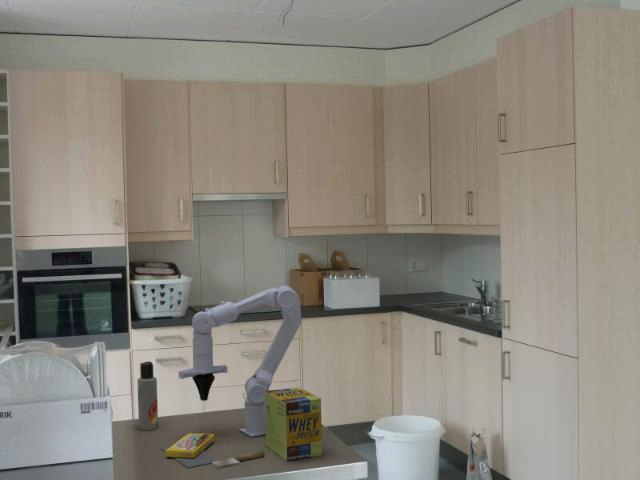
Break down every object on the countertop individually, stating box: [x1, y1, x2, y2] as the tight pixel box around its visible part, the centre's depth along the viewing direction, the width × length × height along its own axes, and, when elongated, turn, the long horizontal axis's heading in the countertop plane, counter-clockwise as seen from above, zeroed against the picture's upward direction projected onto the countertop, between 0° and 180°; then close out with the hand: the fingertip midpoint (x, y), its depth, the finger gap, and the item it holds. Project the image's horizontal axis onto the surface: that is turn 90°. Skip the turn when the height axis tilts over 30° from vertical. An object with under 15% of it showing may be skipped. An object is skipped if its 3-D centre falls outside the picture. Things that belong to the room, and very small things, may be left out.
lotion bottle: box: [137, 361, 159, 431], centre depth 239 cm, size 6×6×20 cm
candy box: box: [164, 432, 216, 458], centre depth 217 cm, size 16×2×8 cm
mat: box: [159, 444, 220, 469], centre depth 213 cm, size 9×20×1 cm, turn 32°
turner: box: [212, 450, 265, 469], centre depth 207 cm, size 14×4×1 cm, turn 122°
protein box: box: [265, 387, 323, 462], centre depth 215 cm, size 10×15×16 cm
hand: (203, 399), depth 230 cm, fingers closed
